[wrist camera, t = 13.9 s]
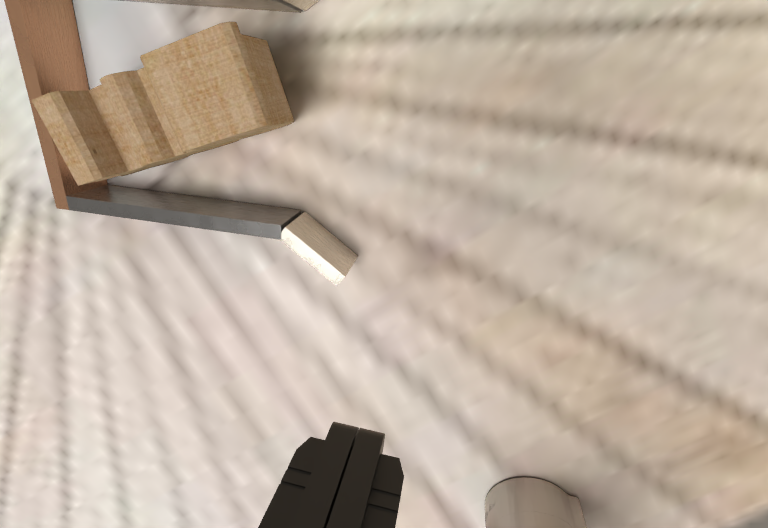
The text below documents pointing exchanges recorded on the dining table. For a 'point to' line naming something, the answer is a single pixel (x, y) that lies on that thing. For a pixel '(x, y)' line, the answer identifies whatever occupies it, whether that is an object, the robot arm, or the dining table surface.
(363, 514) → the robot arm
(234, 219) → the bay
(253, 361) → the dining table surface
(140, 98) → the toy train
